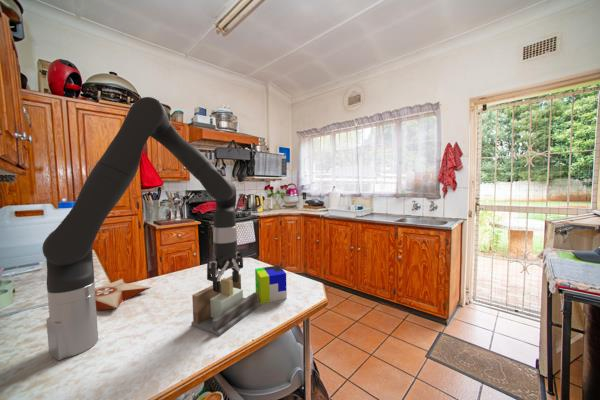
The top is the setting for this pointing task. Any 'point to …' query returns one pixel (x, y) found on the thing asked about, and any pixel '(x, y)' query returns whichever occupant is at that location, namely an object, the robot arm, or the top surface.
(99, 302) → the decorative star
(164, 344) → the top surface
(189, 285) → the top surface
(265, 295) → the puzzle toy
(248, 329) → the top surface
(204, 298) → the board
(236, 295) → the wide pale green cuboid
